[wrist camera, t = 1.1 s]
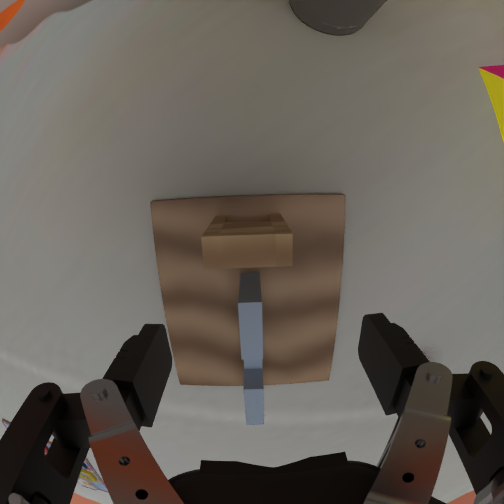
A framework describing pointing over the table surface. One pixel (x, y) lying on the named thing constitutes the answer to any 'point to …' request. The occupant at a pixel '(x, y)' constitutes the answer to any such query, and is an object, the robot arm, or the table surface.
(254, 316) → the slate-blue slotted plate
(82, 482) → the puzzle board
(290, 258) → the oak slotted plate
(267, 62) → the table surface
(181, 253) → the walnut base board
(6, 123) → the table surface
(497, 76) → the pyramid toy
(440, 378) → the robot arm
